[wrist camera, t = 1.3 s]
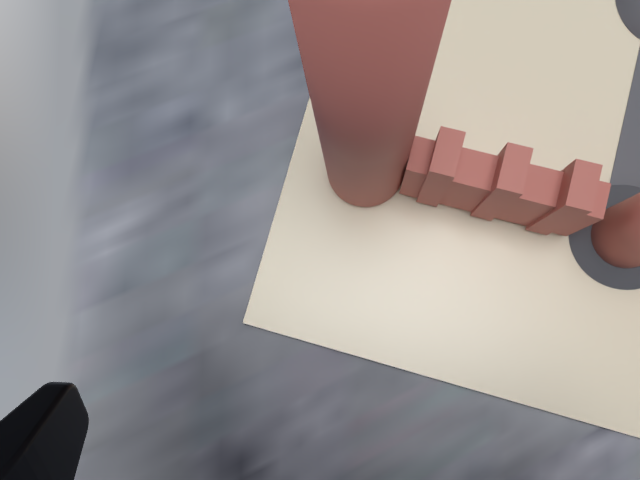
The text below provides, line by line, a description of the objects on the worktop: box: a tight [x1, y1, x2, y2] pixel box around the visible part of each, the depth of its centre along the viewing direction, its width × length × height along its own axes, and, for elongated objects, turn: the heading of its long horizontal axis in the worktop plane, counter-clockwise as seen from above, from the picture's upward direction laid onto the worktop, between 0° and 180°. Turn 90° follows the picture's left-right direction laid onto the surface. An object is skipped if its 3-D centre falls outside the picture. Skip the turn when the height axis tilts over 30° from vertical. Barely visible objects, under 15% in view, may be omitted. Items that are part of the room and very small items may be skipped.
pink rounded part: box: [288, 0, 611, 236], centre depth 15 cm, size 9×3×14 cm, turn 74°
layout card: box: [243, 0, 640, 438], centre depth 22 cm, size 20×25×1 cm
